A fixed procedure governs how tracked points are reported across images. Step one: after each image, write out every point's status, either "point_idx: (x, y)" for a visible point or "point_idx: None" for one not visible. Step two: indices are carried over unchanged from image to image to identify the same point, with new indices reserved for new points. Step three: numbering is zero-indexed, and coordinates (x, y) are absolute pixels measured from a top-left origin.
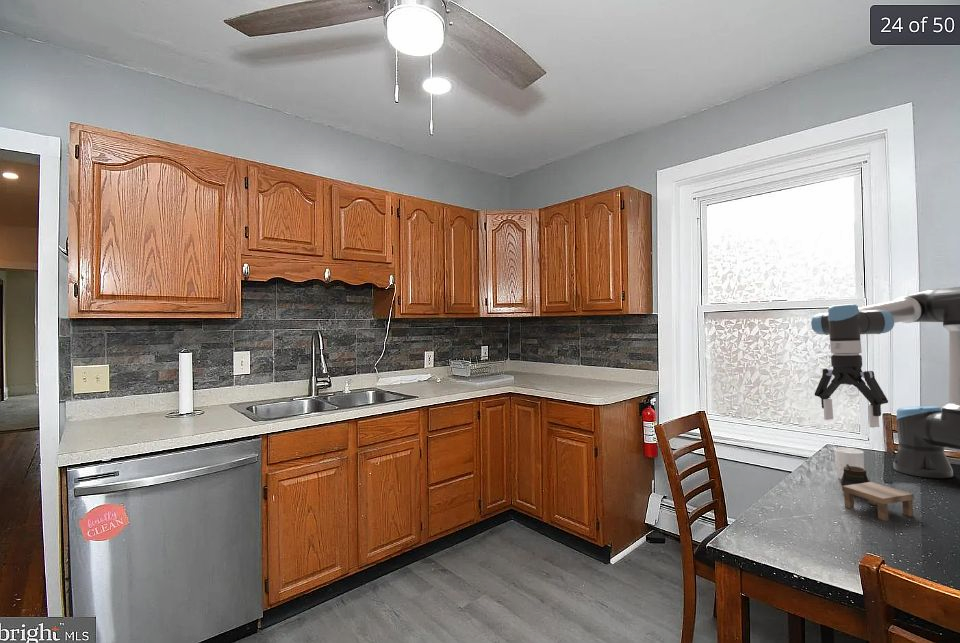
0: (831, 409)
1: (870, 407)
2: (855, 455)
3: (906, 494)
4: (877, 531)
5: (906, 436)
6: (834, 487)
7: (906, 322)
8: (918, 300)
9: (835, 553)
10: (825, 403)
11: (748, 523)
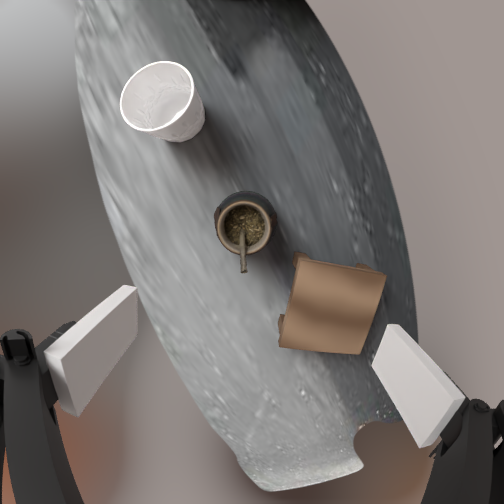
0: (108, 325)
1: (423, 434)
2: (186, 113)
3: (379, 292)
4: (352, 376)
5: None
6: (194, 213)
7: None
8: None
9: (339, 447)
10: (91, 397)
11: (243, 458)
